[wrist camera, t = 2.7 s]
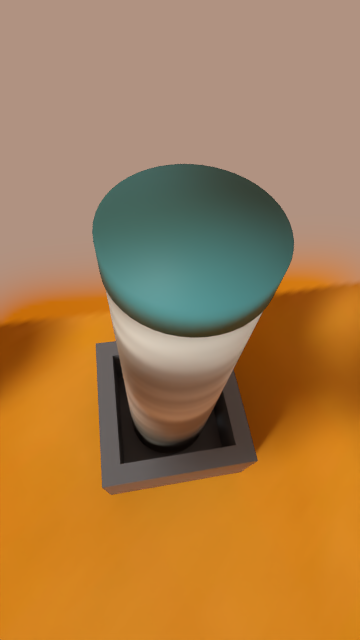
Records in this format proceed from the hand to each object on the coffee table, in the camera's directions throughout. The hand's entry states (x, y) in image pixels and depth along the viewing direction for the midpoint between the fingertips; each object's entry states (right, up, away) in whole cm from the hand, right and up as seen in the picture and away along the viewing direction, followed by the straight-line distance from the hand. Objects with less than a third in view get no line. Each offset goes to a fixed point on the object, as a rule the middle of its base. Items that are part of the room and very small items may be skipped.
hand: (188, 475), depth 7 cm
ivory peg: (-1, -2, +12) cm, 12 cm away
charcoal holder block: (-1, -2, +12) cm, 12 cm away
